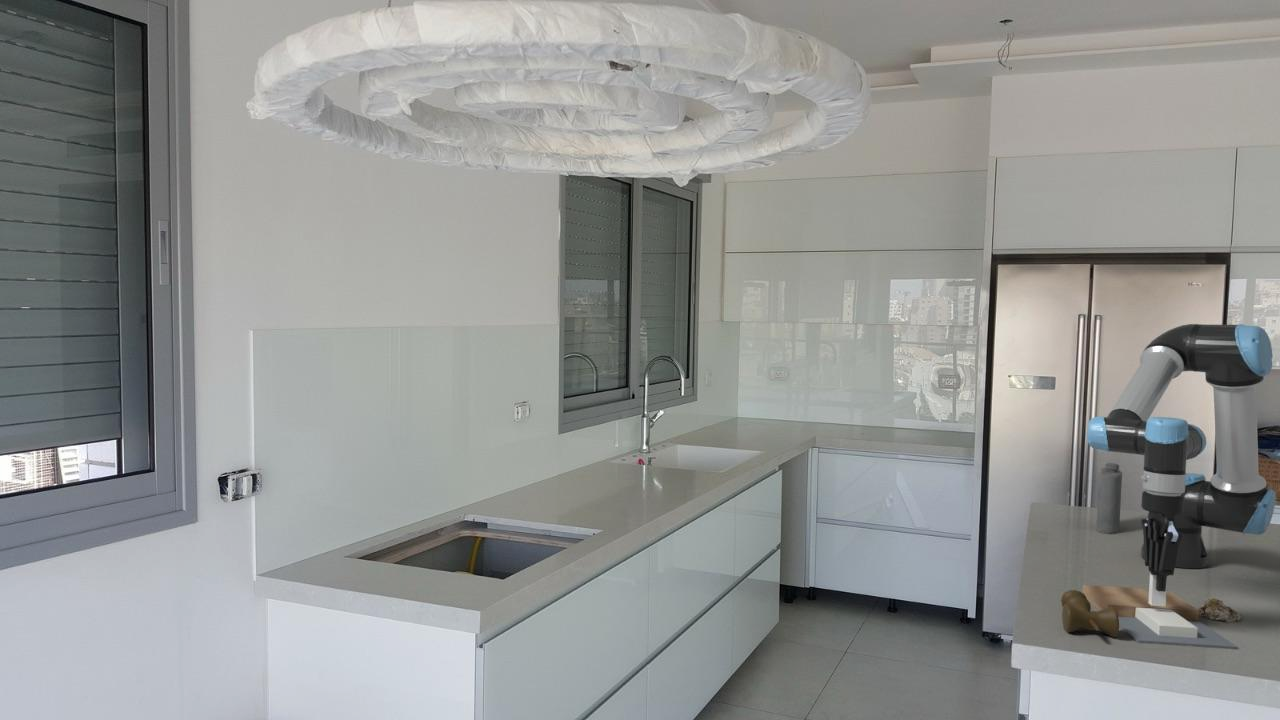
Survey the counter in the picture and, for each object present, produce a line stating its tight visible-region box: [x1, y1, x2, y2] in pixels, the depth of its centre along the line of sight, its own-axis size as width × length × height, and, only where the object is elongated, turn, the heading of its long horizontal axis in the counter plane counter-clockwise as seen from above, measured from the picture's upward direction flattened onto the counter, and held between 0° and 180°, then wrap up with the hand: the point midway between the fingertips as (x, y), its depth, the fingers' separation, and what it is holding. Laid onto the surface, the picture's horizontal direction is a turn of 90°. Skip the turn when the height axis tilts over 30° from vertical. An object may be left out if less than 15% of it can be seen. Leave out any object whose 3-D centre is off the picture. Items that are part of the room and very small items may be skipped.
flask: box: [1096, 462, 1123, 534], centre depth 266 cm, size 15×6×20 cm, turn 150°
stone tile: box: [1135, 608, 1198, 638], centre depth 179 cm, size 7×11×2 cm, turn 173°
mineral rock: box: [1196, 597, 1242, 623], centre depth 189 cm, size 11×4×8 cm
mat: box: [1118, 617, 1238, 650], centre depth 177 cm, size 18×14×1 cm
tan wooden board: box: [1082, 584, 1200, 622], centre depth 191 cm, size 18×14×2 cm
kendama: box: [1060, 589, 1120, 639], centre depth 179 cm, size 6×10×20 cm
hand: (1156, 604), depth 183 cm, fingers closed
